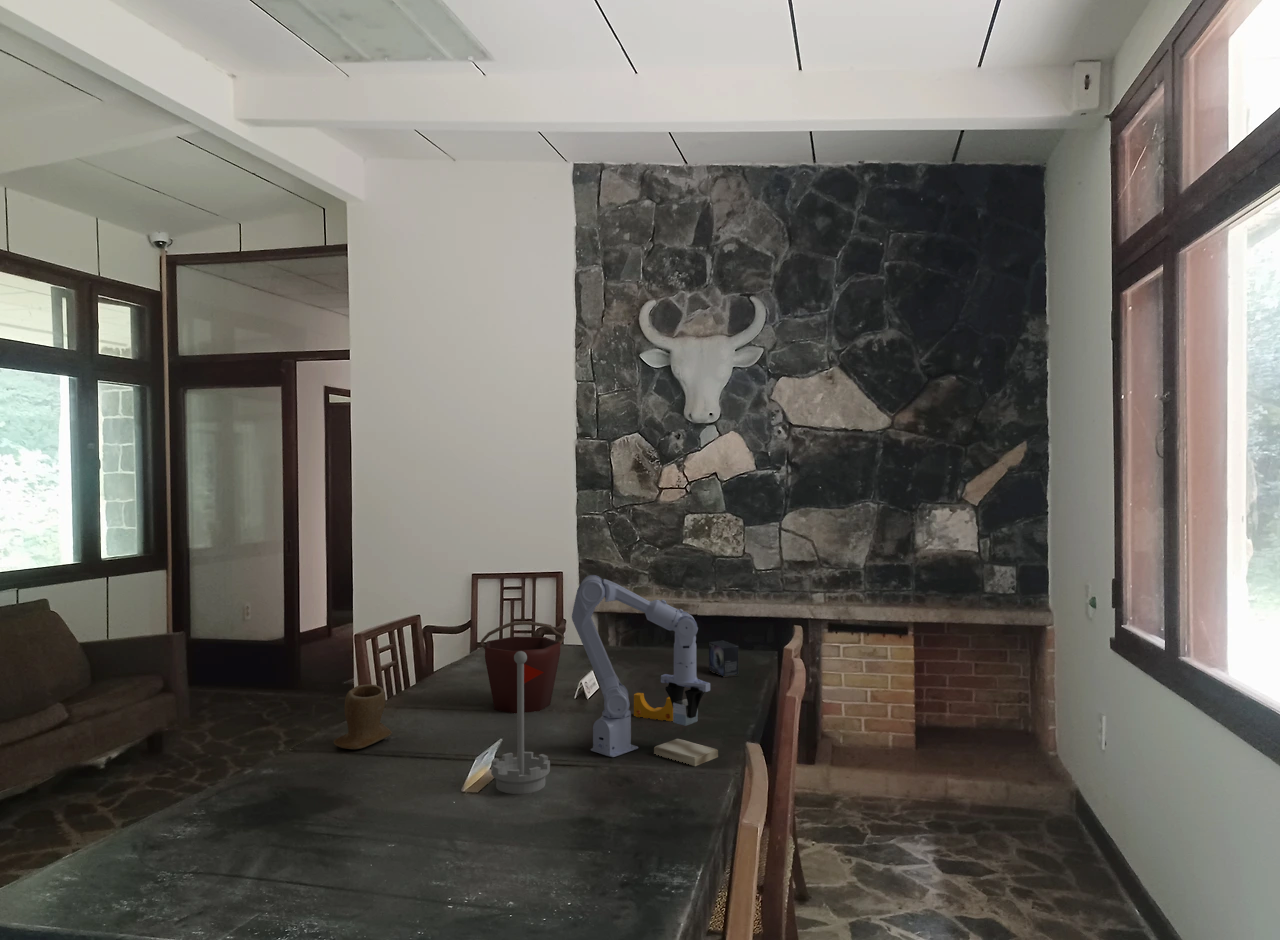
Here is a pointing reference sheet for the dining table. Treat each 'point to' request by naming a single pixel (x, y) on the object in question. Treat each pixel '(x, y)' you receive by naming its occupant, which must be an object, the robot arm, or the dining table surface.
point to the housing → (682, 713)
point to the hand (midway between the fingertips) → (685, 715)
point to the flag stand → (521, 747)
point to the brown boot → (363, 717)
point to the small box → (723, 658)
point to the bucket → (539, 656)
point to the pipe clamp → (652, 709)
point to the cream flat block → (686, 752)
